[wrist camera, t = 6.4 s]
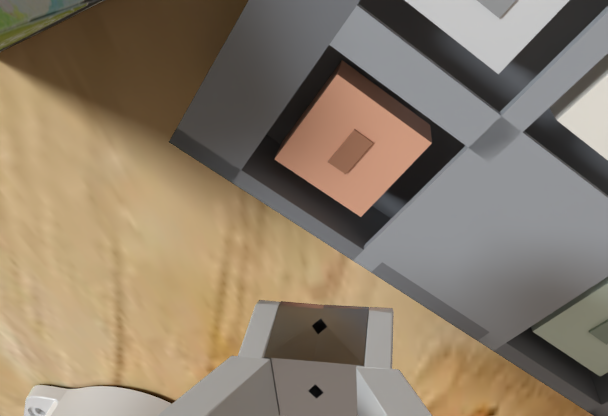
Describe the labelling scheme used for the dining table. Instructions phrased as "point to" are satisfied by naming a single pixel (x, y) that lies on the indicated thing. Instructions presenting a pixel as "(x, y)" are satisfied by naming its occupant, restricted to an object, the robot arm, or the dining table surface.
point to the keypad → (432, 164)
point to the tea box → (35, 17)
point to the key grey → (490, 24)
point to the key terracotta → (354, 140)
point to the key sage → (581, 328)
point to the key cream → (587, 108)
